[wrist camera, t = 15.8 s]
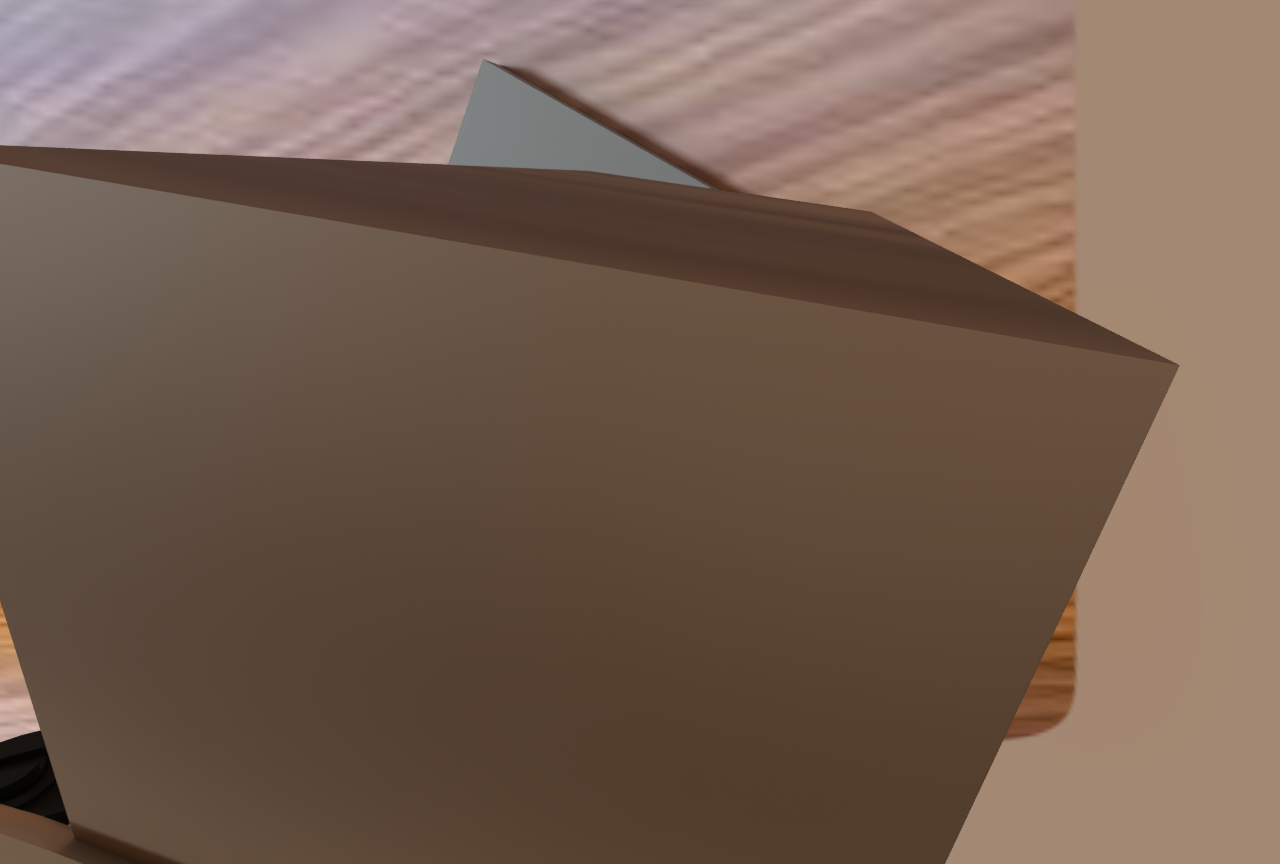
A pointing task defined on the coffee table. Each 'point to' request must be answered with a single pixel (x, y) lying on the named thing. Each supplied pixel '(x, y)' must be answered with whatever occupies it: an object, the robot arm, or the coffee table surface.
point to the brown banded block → (527, 511)
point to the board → (548, 134)
